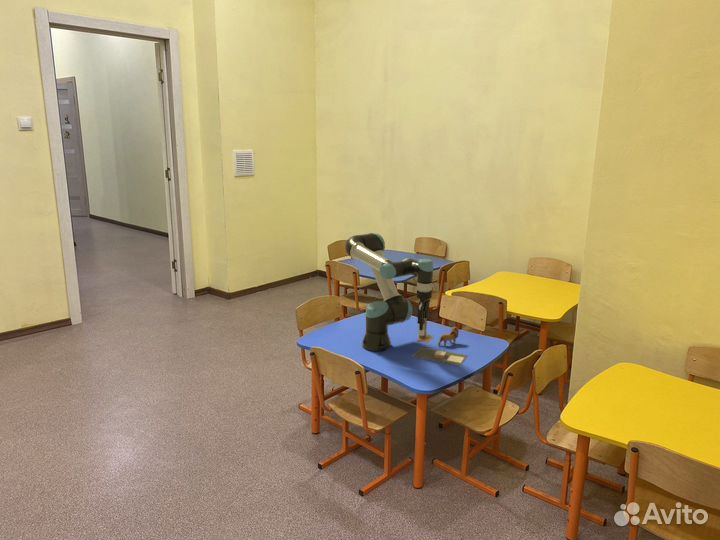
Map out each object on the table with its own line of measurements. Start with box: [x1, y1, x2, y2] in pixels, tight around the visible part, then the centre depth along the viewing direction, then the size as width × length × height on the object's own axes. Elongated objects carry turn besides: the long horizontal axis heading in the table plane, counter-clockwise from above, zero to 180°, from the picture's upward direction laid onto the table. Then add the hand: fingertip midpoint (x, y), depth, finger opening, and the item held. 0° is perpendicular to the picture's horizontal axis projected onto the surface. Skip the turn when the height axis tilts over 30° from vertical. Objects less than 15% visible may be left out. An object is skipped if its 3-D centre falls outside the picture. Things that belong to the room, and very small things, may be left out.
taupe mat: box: [412, 347, 469, 367], centre depth 271 cm, size 25×14×1 cm, turn 65°
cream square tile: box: [434, 350, 448, 359], centre depth 271 cm, size 5×5×2 cm
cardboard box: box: [416, 318, 434, 344], centre depth 271 cm, size 6×9×11 cm, turn 155°
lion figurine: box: [437, 326, 460, 348], centre depth 285 cm, size 15×5×9 cm, turn 131°
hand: (422, 334), depth 273 cm, fingers closed on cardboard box, 3 cm apart
